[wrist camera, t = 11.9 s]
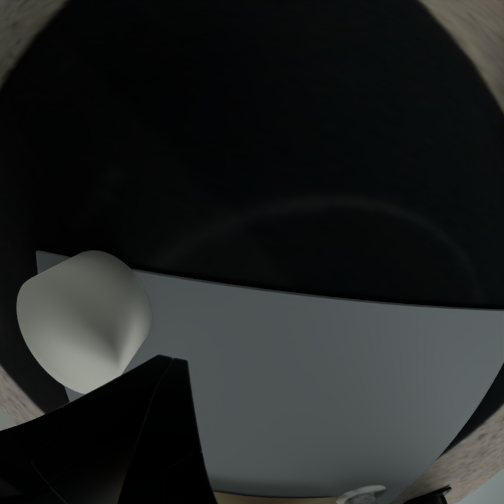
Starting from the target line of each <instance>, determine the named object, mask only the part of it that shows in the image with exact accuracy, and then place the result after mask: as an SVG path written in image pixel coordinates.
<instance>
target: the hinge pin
mask: <svg viewBox="0 0 504 504" xmlns="http://www.w3.org/2000/svg"><path fill="white" fill-rule="evenodd" d="M385 492H386V487H385V486H384V485H369V486H365V487H361V488H357V489H354V490H351V491H349V492H346V493H344V494H342V495H340V496H338V497H336V504H377V503H376V499H377V498H379V497H380V496H382V495H383V494H384V493H385Z"/></svg>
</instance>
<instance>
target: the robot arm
mask: <svg viewBox="0 0 504 504" xmlns="http://www.w3.org/2000/svg"><path fill="white" fill-rule="evenodd" d="M451 490H452V488H451V487H448V488H446V489H443V490H440V491H438V492H435V493H432V494H429V495H427V496H424V497H421V498H417V499H414V500H411V501H409V502H407V503H405V504H447V501H446V499H445V497H444V496H445V495H446V494H447V493H448V492H449V491H451ZM0 504H218V502H217V500H216V497H215V495H214V492H213V489H212V487H211V484H210V481H209V477H208V473H207V470H206V466H205V461H204V456H203V453H202V447H201V442H200V436H199V431H198V425H197V419H196V413H195V407H194V400H193V394H192V387H191V379H190V372H189V364H188V361H187V360H185V359H180V358H172V357H170V356H165V355H161V354H158V355H156V356H154V357H152V358H151V359H149V360H147V361H145V362H144V363H142V364H140V365H138V366H137V367H135V368H133V369H131V370H129V371H128V372H126V373H124V374H122V375H120V376H119V377H117V378H115V379H113V380H111V381H109V382H107V383H106V384H104V385H102V386H100V387H98V388H96V389H94V390H93V391H91V392H89V393H87V394H85V395H83V396H81V397H79V398H77V399H75V400H73V401H71V402H69V403H68V404H66V405H64V406H63V407H59V408H57V409H55V410H53V411H51V412H49V413H47V414H45V415H43V416H40V417H38V418H36V419H34V420H31V421H28V422H26V423H23V424H20V425H17V426H14V427H11V428H8V429H5V430H2V431H0Z"/></svg>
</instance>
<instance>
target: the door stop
mask: <svg viewBox="0 0 504 504" xmlns="http://www.w3.org/2000/svg"><path fill="white" fill-rule="evenodd" d="M17 317H18V322H19V326H20V329H21V332H22V335H23V337H24V340H25V342H26V344H27V346H28V347H29V349H30V351H31V353H32V354H33V356H34V357H35V358H36V360H37V361H38V362H39V364H40V365H41V366H42V367H43V368H44V369H45V370H46V371H47V372H48V373H49V374H50V375H51V376H52V377H53V378H55V379H56V380H57V381H58V382H60V383H61V384H63V385H64V386H66V387H68V388H70V389H72V390H74V391H76V392H79V393H82V394H87V393H89V392H91V391H93V390H94V389H96V388H98V387H100V386H102V385H104V384H106V383H107V382H109V381H111V380H113V379H115V378H117V377H119V376H120V375H121V374H122V373H123V371H124V370H125V368H126V367H127V365H128V364H129V362H130V361H131V359H132V358H133V356H134V355H135V353H136V352H137V350H138V349H139V348H140V346H141V345H142V343H143V342H144V340H145V339H146V337H147V335H148V333H149V331H150V327H151V321H152V313H151V306H150V302H149V299H148V296H147V293H146V291H145V289H144V287H143V285H142V283H141V282H140V280H139V279H138V277H137V276H136V275H135V273H134V272H133V271H132V270H131V269H130V268H129V267H128V266H127V265H126V264H125V263H124V262H122V261H121V260H119V259H118V258H116V257H115V256H113V255H111V254H108V253H105V252H102V251H93V250H92V251H85V252H82V253H80V254H78V255H76V256H73V257H71V258H69V259H67V260H65V261H63V262H61V263H59V264H57V265H55V266H53V267H51V268H50V269H48V270H46V271H44V272H42V273H40V274H38V275H36V276H34V277H32V278H31V279H29V280H27V281H26V282H25V283H24V284H23V286H22V287H21V289H20V291H19V294H18V298H17Z"/></svg>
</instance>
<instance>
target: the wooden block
mask: <svg viewBox="0 0 504 504" xmlns="http://www.w3.org/2000/svg"><path fill="white" fill-rule="evenodd" d="M214 495H215V497H216V500H217V502H218V504H336V497H329V498H304V499H289V498H265V497H252V496H242V495H234V494H226V493H220V492H214Z"/></svg>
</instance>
